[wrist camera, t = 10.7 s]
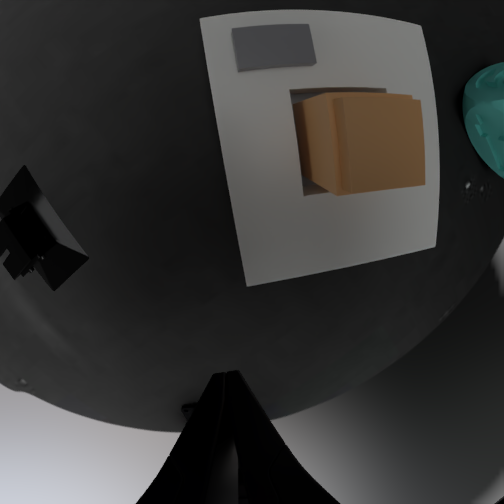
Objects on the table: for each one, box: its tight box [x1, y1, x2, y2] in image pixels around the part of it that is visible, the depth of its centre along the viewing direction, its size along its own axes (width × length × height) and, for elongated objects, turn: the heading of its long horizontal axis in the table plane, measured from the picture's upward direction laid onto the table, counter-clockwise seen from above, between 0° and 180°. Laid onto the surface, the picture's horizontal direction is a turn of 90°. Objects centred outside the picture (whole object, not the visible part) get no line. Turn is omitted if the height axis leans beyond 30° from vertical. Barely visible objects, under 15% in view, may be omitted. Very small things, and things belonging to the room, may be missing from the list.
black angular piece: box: [0, 165, 89, 291], centre depth 16 cm, size 12×7×5 cm, turn 31°
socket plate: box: [200, 10, 440, 287], centre depth 15 cm, size 16×14×4 cm
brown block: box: [292, 92, 425, 196], centre depth 14 cm, size 5×5×7 cm
